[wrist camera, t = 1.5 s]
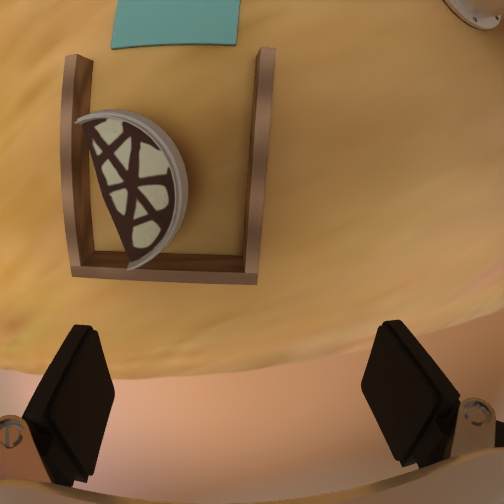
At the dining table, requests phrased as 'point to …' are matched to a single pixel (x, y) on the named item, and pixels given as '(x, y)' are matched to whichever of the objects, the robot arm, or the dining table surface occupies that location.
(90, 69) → the frame
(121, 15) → the mat
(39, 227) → the dining table surface
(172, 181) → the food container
